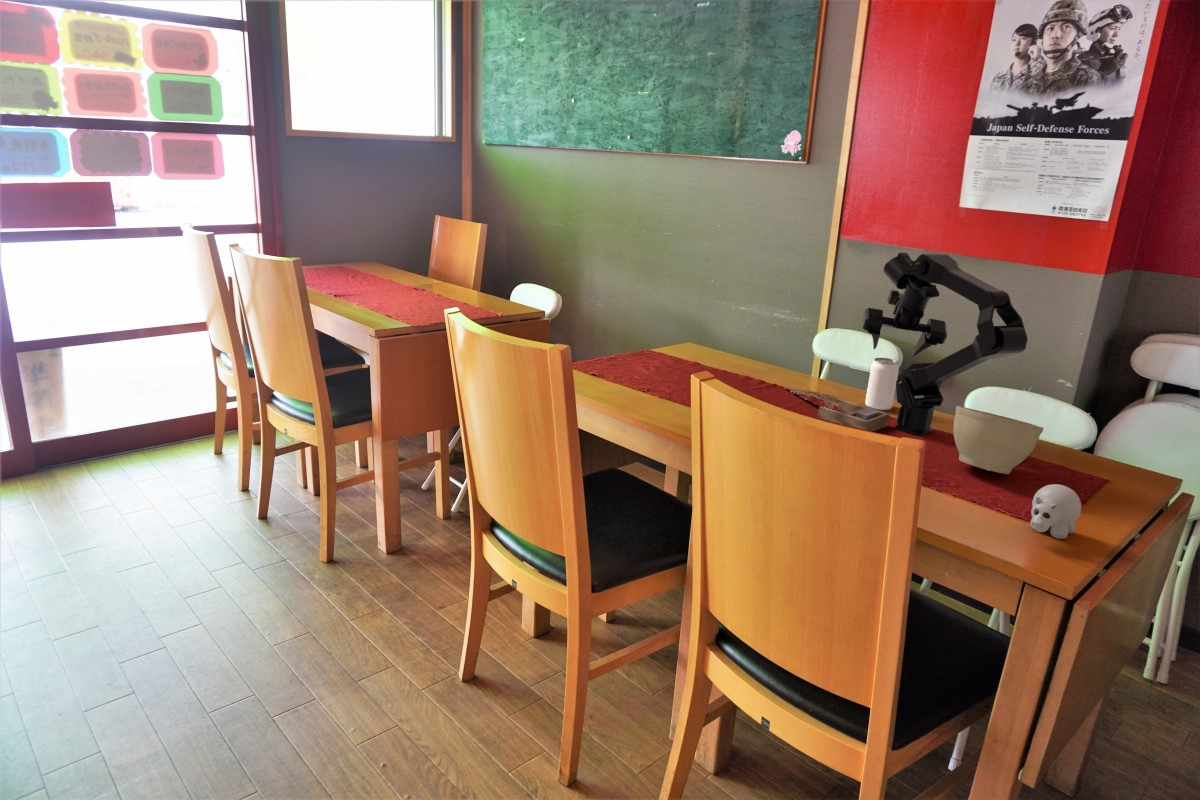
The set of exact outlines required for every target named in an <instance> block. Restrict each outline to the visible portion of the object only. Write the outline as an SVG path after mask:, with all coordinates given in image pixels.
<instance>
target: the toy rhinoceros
mask: <svg viewBox="0 0 1200 800" xmlns="http://www.w3.org/2000/svg"><path fill="white" fill-rule="evenodd" d="M1031 504H1032V507H1031V511H1030V513H1031V517H1032V518H1031V520H1030V523H1029V526H1030V527H1031V528H1032V529H1033V530H1034V531H1035V532H1038V533H1045V532H1046V531H1049V533H1050V535H1051V536H1052V537H1053V538H1055V539H1058V540H1059V539H1060V540H1061V539H1066V538H1068V535H1069V534H1073V533H1074V532H1075V530H1076V529H1075V528H1076V523H1075V522H1076V520H1077V519H1078V518H1079V517H1080V515H1081V512H1082V503H1081V499H1080V497H1079V495H1078V494H1077V493H1076V492H1075V491H1074V489H1072V488H1070V487H1069V486H1065V485H1063V484H1056V483H1053V484H1047V485H1045V486H1042V487H1041V488H1040V489H1038V490H1037V491H1036V492H1035V494H1034V496H1033V498H1032V502H1031ZM1049 529H1050V530H1049Z"/></svg>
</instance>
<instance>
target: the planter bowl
mask: <svg viewBox="0 0 1200 800" xmlns="http://www.w3.org/2000/svg"><path fill="white" fill-rule="evenodd" d="M1043 431H1044V427H1043V426H1039V425H1038V424H1037V425H1036V424H1033V423H1029V422H1026V421H1022V420H1018V419H1014V418H1011V417H1007V416H1004V415H999V414H996V413H995V414H994V413H990V412H987V411H986V412H985V411H983V410H978V409H973V408H969V407H964V406H960V405H956V407H955V414H954V419H953V438H954V442H955V445H956V449H957V451H958V454H959V456H958V460H959V461H960V462H962V463H964V464H967V465H971V466H973V467H976V468H979V469H983V470H986V471H988V472H990V471H991V472H995V473H999V474H1006V475H1010V473H1011V472H1012V470H1013V468H1015V467H1017V466H1018V465H1019V464H1021V463H1022V462H1024V460H1025V459H1027V458H1028V457H1029V455H1031V453H1032V452H1033V451H1034V449H1035V447H1036V446H1037V443H1038V442H1039V439H1040V436H1041V434H1042V433H1043Z"/></svg>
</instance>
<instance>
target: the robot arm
mask: <svg viewBox="0 0 1200 800" xmlns="http://www.w3.org/2000/svg"><path fill="white" fill-rule="evenodd" d="M882 271H883V273H884V275H885V276H886V277H887V278H888V279H889V280H890V282H891V283H892V284H893V285H894V286H895V287H896V288H897V289H898V290H904V292H903V293H901V292H899V291H898V290H895V289H891V290H890V292H889V294H888V297H887V304H888V305H892V306H893V310H892V314H893V317H888V316H884V311H883V309H879V308H874V307H873V308H872V307H867V308H866V309H864V311H863V314H862V329H863V330H864V331H867V332H866V333H868V334H871V337H872V345H873V348H872V349H873V350H876V349H877V346H878V343H879V340H880V337H881V329H882V327H887V328H893V329H898V330H903V331H913V332H921V334H920V337H919V339H918V341H916V342H917V343H916V344H915V345H914V348H913V350H912V354H911V356H912V357H913V358H914V357H915V356H917V355H918V354H920V353H921V352H922V351H924V350H926V349H928V348H930V347H932V346H937V345H938V344H940V345H943V344H944V343H945V342H946V340H947V338H948V329H947V328H948V327H947V323H946V321H945V320H941V319H935V318H929V319H928V320H927V322H922V321H921V320H922V319H923V318H924V315H925V311H926V308H927V307H928V306H927V305H928V303H929V302H930V299H931V298H938V297H940V295H941V293H940V292H939V289H938V288H937V285H941V286H943V287H945V288H947V289H949V290H950V291H953V292H954V293H956V294H957V295H960V296H962V297H963V298H965V299H966V300H968V301H970V302H971V303H974V304H975V305H977V307H978V311H979V313H978V317H977V323H976V329H977V331H978V332H977V333H978V334H977V335H976V336H975V337H974V340H973V341H972V343H971V344H969V345H967V346H965V347H963V348H961V349H960V350H957V351H955V352H953V353H952V354H949V355H948V356H946V357H943V358H942V359H939V360H938V361H936V362H921V363H912V364H910V365H909V366H908V367H907V368H905V369H904V368H902V369H901V372H900V373H898V377H897V381H896V388H895V393H896V401H897V403H898V404H900V407H899V409H898V415H897V419H896V425H894V428H895V429H896V430H897V429H898V430H900V431H904V432H907V433H908V434H909V433H910V434H913V433H915V434H914V435H916V434H917V435H916V436H924V435H926V434H928V433H930V432H933V431H934V428H933V427H931V426H932V421H933V416H934V411H935V407H940V406H941V405H942V403H943V401H944V397H943V395H942V393H941V389H940V388H941V386H942V383H943V382H945V381H947V380H949V379H951V378H953V377H956V376H957V375H960V374H962V373H963V372H965V371H968V370H970V369H972V368H974V367H976V366H978V365H980V364H982V363H984V362H986V361H990V360H991V359H999V358H1005V357H1008V356H1013V355H1018V354H1020V353H1022V352H1023V351H1025V349H1026V348H1027V343H1028V336H1027V332H1026V329H1025V325H1024V322H1023V319H1022V317H1021V315H1020V314H1019V312H1018V311H1017V310H1016V309H1015V308H1014V306H1013V305H1012V302H1011V297H1010V295H1009V293H1007V292H1006V291H1005V290H1003V289H999V288H997V287H994V286H993V285H992V284H989V283H987V282H986V281H983V280H982V279H980V278H977V277H976V276H974V275H972V274H970V273H968V272H966V271H964V270H962V269H961V268H960V267H959V264H958V263H957V261H956V260H955V259H953V257H951V256H950V254H949V255H948V254H947V253H946V254H945V253H921V254H920V255H919V256H918V257H917V258H916V259H915V260H913V259H912V258H911V256H910V255H909V254H908V252H898V254H897V256H894V257H892V258H891V259H890V260H888V261H887V262H885V265H884V267H883V270H882ZM995 312H996V314H997V315H998V317H1000V319H1001V320H1002V322H1003V323H1004V324H1005V325H994V321H993V318H994V313H995ZM915 397H917V398H915Z"/></svg>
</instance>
